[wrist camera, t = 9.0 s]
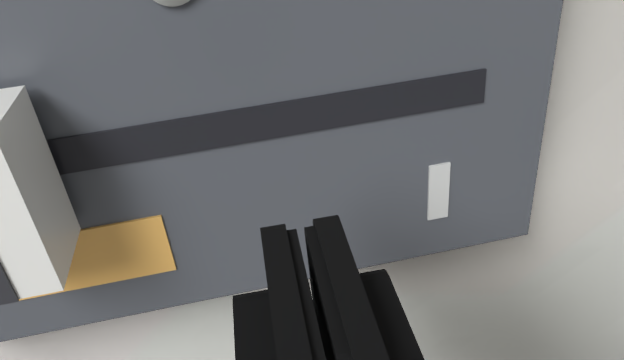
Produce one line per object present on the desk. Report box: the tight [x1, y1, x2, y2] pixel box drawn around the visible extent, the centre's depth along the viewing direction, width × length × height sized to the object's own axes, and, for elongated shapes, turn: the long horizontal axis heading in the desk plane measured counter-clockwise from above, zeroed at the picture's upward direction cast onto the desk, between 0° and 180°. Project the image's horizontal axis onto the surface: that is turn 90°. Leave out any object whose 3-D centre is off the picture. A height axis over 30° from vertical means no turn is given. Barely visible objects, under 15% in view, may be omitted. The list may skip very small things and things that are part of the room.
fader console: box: [0, 0, 563, 342], centre depth 19 cm, size 24×14×3 cm, turn 96°
